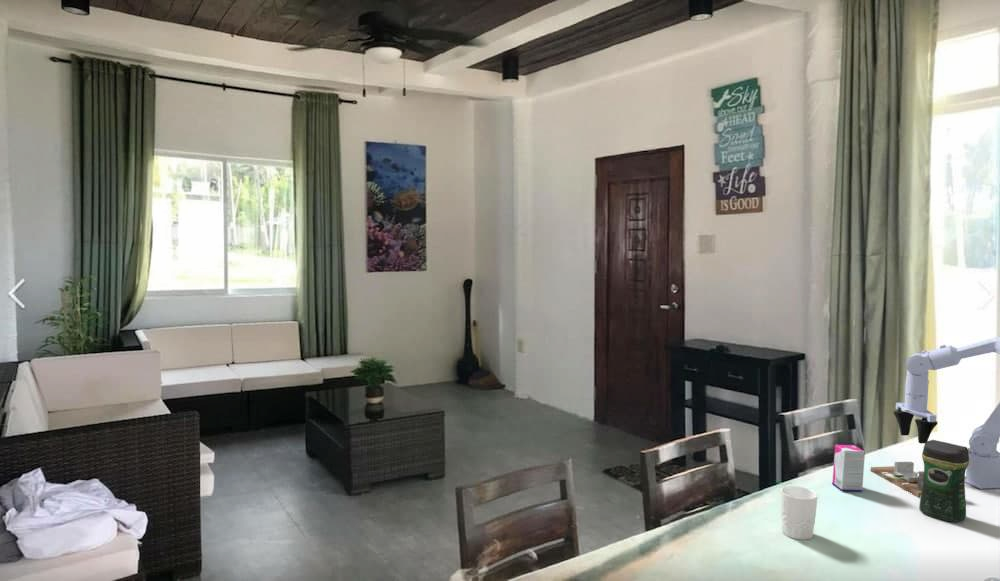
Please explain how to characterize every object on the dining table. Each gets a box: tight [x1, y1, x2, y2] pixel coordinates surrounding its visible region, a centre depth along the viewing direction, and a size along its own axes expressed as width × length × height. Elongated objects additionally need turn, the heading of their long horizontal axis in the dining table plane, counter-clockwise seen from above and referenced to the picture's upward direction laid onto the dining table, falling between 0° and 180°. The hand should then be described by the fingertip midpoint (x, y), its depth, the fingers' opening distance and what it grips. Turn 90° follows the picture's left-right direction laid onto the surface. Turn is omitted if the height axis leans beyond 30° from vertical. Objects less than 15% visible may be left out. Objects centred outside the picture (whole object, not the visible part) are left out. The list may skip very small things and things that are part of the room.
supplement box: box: [832, 444, 866, 493], centre depth 187 cm, size 6×6×12 cm
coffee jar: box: [918, 439, 969, 522], centre depth 169 cm, size 10×8×19 cm
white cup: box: [780, 485, 819, 541], centre depth 159 cm, size 8×8×10 cm
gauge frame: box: [870, 465, 924, 498], centre depth 191 cm, size 20×10×6 cm, turn 5°
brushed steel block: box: [893, 461, 920, 482], centre depth 190 cm, size 8×8×4 cm
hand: (913, 439), depth 201 cm, fingers open, 7 cm apart
